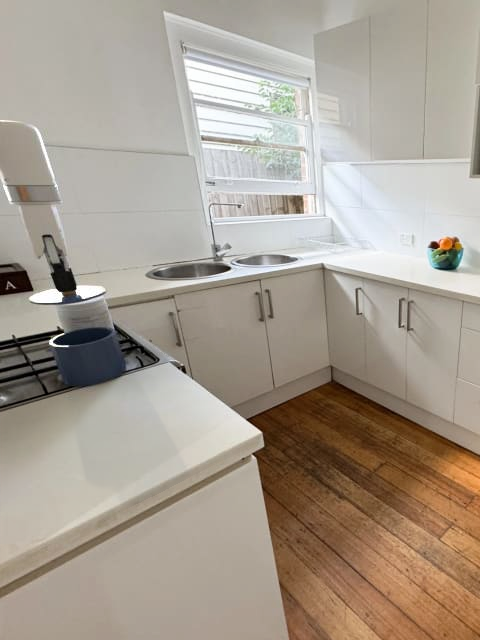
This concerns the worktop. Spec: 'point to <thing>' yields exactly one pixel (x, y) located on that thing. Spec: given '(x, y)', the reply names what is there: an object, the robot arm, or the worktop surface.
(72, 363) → the tin
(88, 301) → the supplement tub
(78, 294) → the lid
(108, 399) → the worktop surface
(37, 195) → the robot arm
